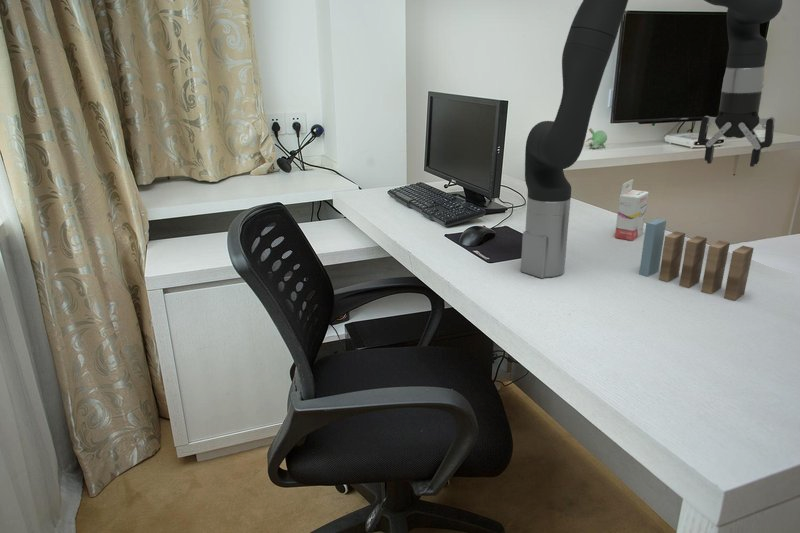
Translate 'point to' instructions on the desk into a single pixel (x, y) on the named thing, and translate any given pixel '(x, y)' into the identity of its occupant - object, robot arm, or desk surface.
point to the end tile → (652, 247)
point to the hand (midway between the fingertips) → (730, 164)
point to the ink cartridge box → (631, 212)
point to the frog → (597, 139)
